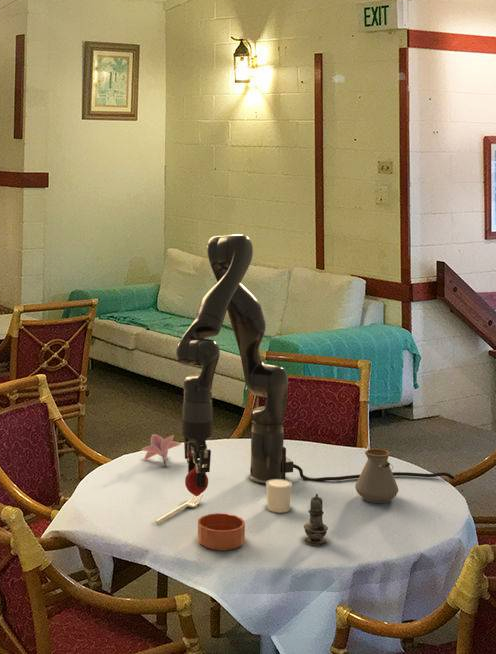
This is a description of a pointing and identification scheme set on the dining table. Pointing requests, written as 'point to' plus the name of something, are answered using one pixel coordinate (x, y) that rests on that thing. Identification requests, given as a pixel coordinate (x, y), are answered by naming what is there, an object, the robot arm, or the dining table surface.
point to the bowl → (221, 531)
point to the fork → (190, 503)
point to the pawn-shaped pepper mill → (315, 524)
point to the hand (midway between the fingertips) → (196, 482)
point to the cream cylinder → (278, 495)
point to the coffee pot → (377, 478)
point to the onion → (194, 483)
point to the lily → (159, 446)
